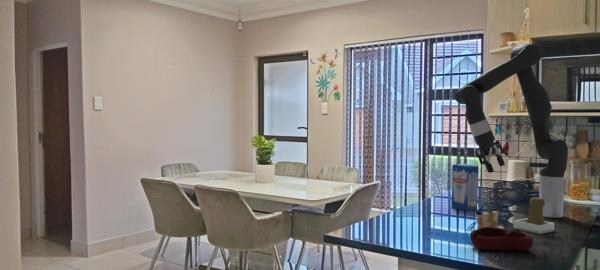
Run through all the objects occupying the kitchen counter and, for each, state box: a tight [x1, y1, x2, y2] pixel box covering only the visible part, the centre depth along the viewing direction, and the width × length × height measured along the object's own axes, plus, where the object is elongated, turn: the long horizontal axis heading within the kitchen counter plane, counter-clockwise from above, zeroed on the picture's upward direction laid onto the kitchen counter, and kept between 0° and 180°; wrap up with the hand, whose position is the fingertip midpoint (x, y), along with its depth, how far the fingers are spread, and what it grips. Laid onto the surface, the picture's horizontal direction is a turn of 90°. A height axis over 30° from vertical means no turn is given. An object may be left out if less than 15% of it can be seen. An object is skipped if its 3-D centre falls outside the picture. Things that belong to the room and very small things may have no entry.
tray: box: [512, 217, 555, 235], centre depth 176 cm, size 10×10×3 cm
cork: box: [527, 196, 545, 225], centre depth 177 cm, size 6×6×11 cm
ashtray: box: [469, 227, 534, 253], centre depth 151 cm, size 18×16×5 cm
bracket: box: [477, 203, 506, 230], centre depth 176 cm, size 10×5×9 cm, turn 124°
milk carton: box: [450, 163, 480, 212], centre depth 216 cm, size 10×6×20 cm, turn 25°
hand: (497, 168), depth 192 cm, fingers open, 8 cm apart
